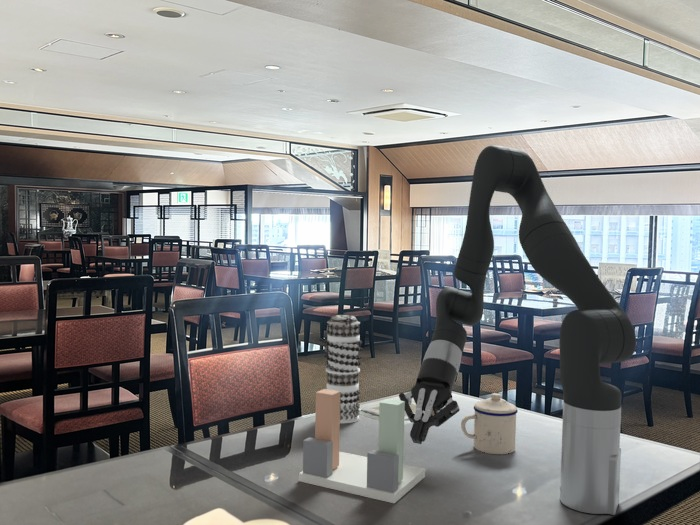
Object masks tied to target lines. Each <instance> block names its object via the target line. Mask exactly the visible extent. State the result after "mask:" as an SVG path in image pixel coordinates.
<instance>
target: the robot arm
mask: <svg viewBox="0 0 700 525" xmlns="http://www.w3.org/2000/svg"><path fill="white" fill-rule="evenodd" d="M472 174H473V175H472V181H471V187H470V194H469V201H468V202H469V203H468V210H467V217H466V224H465V228H464V235H463V239H462V243H461V246H460V249H459V253H458V256H457V259H456V261H455V265H454V269H453V277H455V279H457V281H459V282H460V283H463V284H464V285H465V286H467V287H468V288H469V289H470V291H471V292H468V291H464V290H461V289H458V288H456V287H453V286H447V287H445V288H443V289H441V290H440V291H439V292H438V294H437V296H436V301H435V302H436V303H435V315H436V316H435V318H436V319H435V327H434V330H433V334H432V337H431V340H430V343H429V345H428V347H427V350H426V351H425V353H424V357H423V360H422V363H421V364H420V365H421V366H420V368H419V371H418V374H417V377H416V381H415V383H414V385H413V387H412V388H411V390H410V391H409V392H407V393H404V392H400V393H399V395H398V397H399V400H400V401H405V415H406V416H407V418H408V420H409V422H410V423H412V427H411V429H410V433H409V437H410V438H411V441H412V442H413V444H418V445H419V444H420V445H422V443H424V442H425V441H426V439H427V436H428V433H429V430H430V429H431V427H436V428H437V427H438V428H439V427H441V426H442V425H443V424H444V423H445V422H447V421H448V420H450V418H452V417H453V416H456V414H457V413H459V412H460V406H459V404H458V402H457V400H454V399H453V394H452V391H453V390H454V386H455V384H456V379H457V376H458V373H459V372H460V366H461V363H462V362H461V361H462V357H463V356H462V355H463V352H464V349H465V345H466V341H467V337H468V332H467V330H466V328H465V327H464V326H463V325H466V326H469V327H470V326H471V327H472V326H475V325H477V324H478V323H479V322H480V321H481V320H482V318H483V315H484V309H485V308H484V307H485V306H484V299H485V298H484V292H485V283H486V279H487V275H488V272H489V269H490V265H491V263H492V259H493V255H494V251H495V239H494V234H493V229H492V224H491V218H490V207H491V202H492V199H493V195H494V194H495V192H500V193H503V194H504V193H506V194H509V195H510V196H511V197H512V198H513V199H514V200H515V201H516V203H517V205H518V208H519V209H520V211H521V219H520V224H519V228H518V240H519V244H520V246H521V248H522V251H523V252H524V254H525V256H526V257H527V261H528V262H529V264H530V266H531V267H532V268H533V270H534V271H535V272H536V273H537V275H539V276H540V277H541V278H542V279H543V280H545V281H546V282H547V283H548V284H549V285H551V286H553V288H555V289H556V290H558V291H559V292H560V293H562V294H563V295H564V296H565V297H567V298H568V299H569V300H570V301H571V302H572V303H573V304H574V305H575V308H577V309H574V310H571V311H569V312H568V313H567V314H566V315H565V317H564V318H563V319H562V323H561V324H560V331H559V342H558V343H559V380H560V384H561V388H562V392H563V396H562V397H563V402H562V404H563V405H562V428H561V429H562V430H561V431H562V432H561V452H560V453H561V454H560V455H561V458H560V479H559V480H560V484H559V501H560V502H561V503H562V504H563V505H564V506H565V507H568V508H569V509H572V510H575V511H578V512H581V513H585V514H593V515H594V514H595V515H604V514H605V515H607V514H608V515H613V516H616V513H617V509H618V508H619V507H618V506H619V503H620V485H621V484H620V483H621V460H622V459H621V458H622V448H621V447H620V446H621V445H620V444H621V421H622V415H621V414H622V400H623V399H622V398H623V397H622V391H621V390H620V389H619V388H618V387H617V386H616V385H613V384H610V383H607V382H605V381H603V380H602V377H601V368H600V365H602V364H603V365H605V364H616V363H621V362H625V361H627V360H629V359H630V358H631V357H632V356H633V355H634V353H635V351H636V347H637V336H636V331H635V329H634V326H633V324H632V321H631V320H630V317H629V316H628V315H627V313H626V312H625V311H624V309H623V308H622V306H621V305H620V303H618V301H616V299H615V298H614V296H613V295H612V294H611V293H610V291H609V290H608V289H607V287H606V286H605V284H604V283H603V282H602V281H601V278H600V277H599V276H598V275H597V273H596V271H595V269H594V268H593V266H592V265H591V263H590V262H589V260H588V259H587V257H586V255H585V254H584V252H583V251H582V249H581V247H580V246H579V244H578V242H577V240H576V237H575V236H574V235H573V233H572V232H571V229H570V228H569V227H568V224H566V221H564V219H563V217H562V216H561V214H560V212H559V210H558V209H557V207H556V205H555V203H554V201H553V200H552V198H551V196H550V195H549V192H548V191H547V189H546V186H545V185H544V182H543V179H542V178H541V175H540V173H539V171H538V169H537V166H536V164H535V161H534V160H533V159H532V157H531V156H530V155H529V154H528V153H527V152H525V151H524V150H521V149H516V148H513V147H507V146H501V145H496V144H494V145H493V144H492V145H487V146H486V147H484V148H483V149H482V150H481V151H480V153H479V154H478V156H477V159H476V162H475V165H474V169H473V173H472ZM461 324H463V325H461ZM412 399H413V401H414V403H415V405H416V406H415V413H414V412H413V409H412V408H411V406H410V405H412V402H413V401H412Z"/></svg>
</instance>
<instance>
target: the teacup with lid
mask: <svg viewBox="0 0 700 525" xmlns="http://www.w3.org/2000/svg"><path fill="white" fill-rule="evenodd" d="M501 397H502V396H501V394H500V393H495V392H494V393H491V394H490V397H487V398H486V399H484V400H480V401H477V402H475V403H474V405H473V409H474V414H468V415H465V416H464V417H463V419H462V420H461V422H460V428H461V431H462V432H463V435H464V436H466V438H469V439H473V447H474V448H475V449H476V450H478V451H479V452H482V453H484V452H485V454H489V455H499V454H500V455H508V453H509V454H512V453H513V452H514V451H515V450H516V433H517V432H516V431H517V413H518V409H517V406H516V405H515V404H513V403H511V402H508V401H507V400H505V399H504V398H501ZM469 420H474V423H473V424H474V425H473V426H474V427H473V434H470V433H469V432H468V431H467V429H466V424H467V422H468V421H469Z"/></svg>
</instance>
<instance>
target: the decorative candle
mask: <svg viewBox="0 0 700 525" xmlns="http://www.w3.org/2000/svg"><path fill="white" fill-rule="evenodd" d="M326 324H327V325H328V332H327V337H326V338H324V341H323V343H325V345H326V346H324V352H325V353H324V358H325V359H326V361H325V362H324V364H325V365H324V366H325V372H326V373H327V376H326V378H327V380H326V389H328V390H334V391H340V424H354V423H355V422H359V421H360V416H359V415H360V412H361V411H360V407H361V405H360V403H359V401H360V398H361V397H360V396H359V395H360V393H361V390H360V388H359V387H360V386H359V385H360V384H359V383H360V382H359V373H360V372H361V368H360V367H359V366H361V365H362V362H361V361H359V360H361V359H362V356H361V355H360V354H359V352H361V351H362V350H363V348H362V347H361V345H362V344H363V341H362V340H361V339H360V338H361V337H360V336H361V335H360V324H361V321H358V319H357V318H356V316H354V315H351V314H350V315H349V314H337V315H333V316H331V317H330V319H329V320H328V321H327V322H326Z"/></svg>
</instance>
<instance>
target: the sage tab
mask: <svg viewBox="0 0 700 525" xmlns="http://www.w3.org/2000/svg"><path fill="white" fill-rule="evenodd" d="M378 414H379V415H378V450H377V451H382V452H387V453H392V454H398V455H399V466H398V483H399V482H400V481H401V480H403V464H404V454H405V453H404V450H405V449H404V448H405V447H404V446H405V442H404V441H405V415H406V412H405V401H401V400H400V399H392V398H385V399H383V400H381V401H379V413H378Z"/></svg>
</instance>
